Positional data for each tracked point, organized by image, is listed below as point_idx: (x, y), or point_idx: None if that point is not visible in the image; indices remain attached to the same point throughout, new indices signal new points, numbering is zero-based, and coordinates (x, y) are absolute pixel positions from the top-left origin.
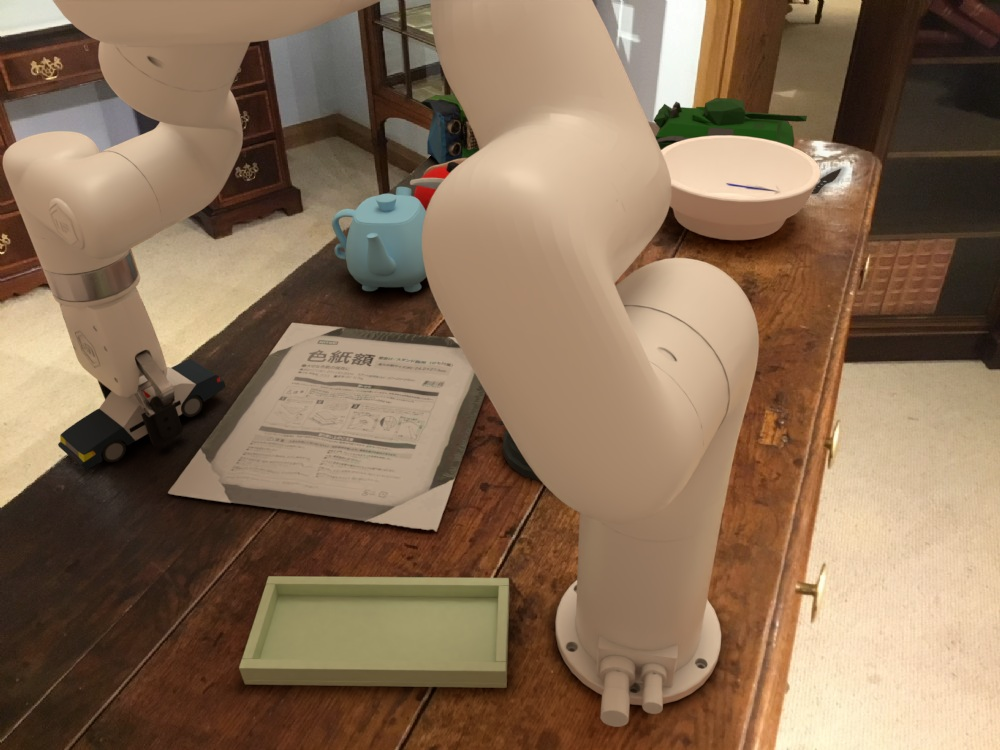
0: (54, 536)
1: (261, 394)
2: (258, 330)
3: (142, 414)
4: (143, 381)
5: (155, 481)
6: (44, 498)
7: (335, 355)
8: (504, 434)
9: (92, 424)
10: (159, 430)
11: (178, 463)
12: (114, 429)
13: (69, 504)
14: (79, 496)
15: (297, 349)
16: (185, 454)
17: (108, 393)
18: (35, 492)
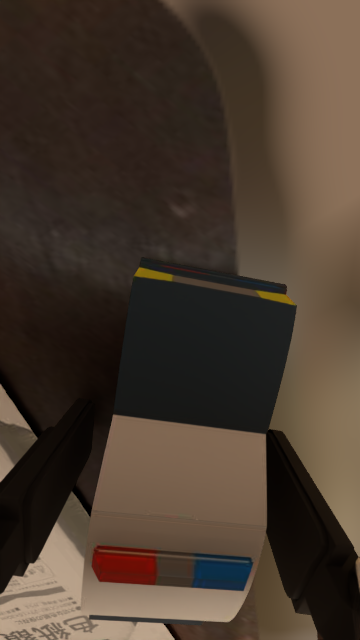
0: (32, 65)
1: (72, 551)
2: (218, 624)
3: (16, 500)
4: (189, 588)
5: (25, 330)
6: (183, 154)
7: (60, 632)
8: None
9: (222, 380)
10: (38, 446)
11: (38, 385)
12: (131, 396)
13: (110, 176)
14: (115, 210)
15: (120, 624)
16: (51, 406)
17: (291, 484)
18: (223, 156)
